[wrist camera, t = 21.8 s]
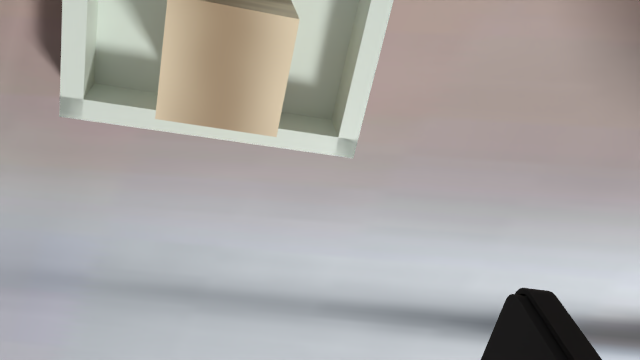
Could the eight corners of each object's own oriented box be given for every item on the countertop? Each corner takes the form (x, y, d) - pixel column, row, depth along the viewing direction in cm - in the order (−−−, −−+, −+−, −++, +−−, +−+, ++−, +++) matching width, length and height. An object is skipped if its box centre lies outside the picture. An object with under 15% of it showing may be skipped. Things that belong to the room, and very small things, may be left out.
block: (287, -8, 29) (299, 19, 23) (269, 91, 31) (276, 137, 25) (180, -30, 28) (167, -7, 22) (169, 74, 30) (154, 119, 24)
